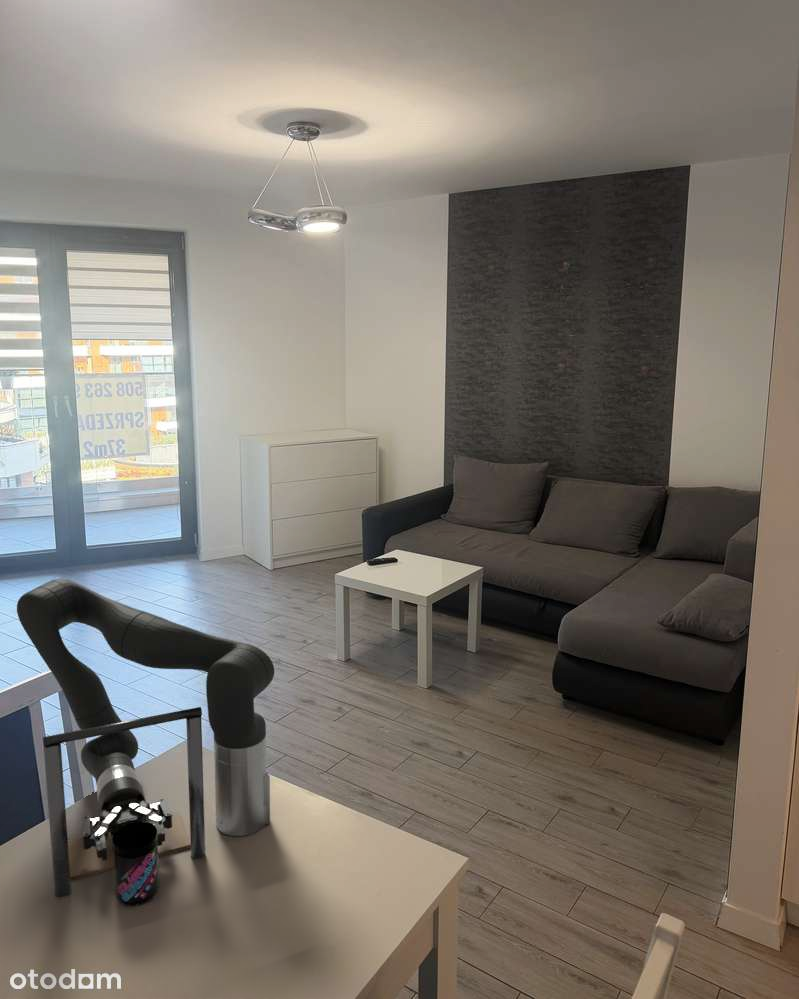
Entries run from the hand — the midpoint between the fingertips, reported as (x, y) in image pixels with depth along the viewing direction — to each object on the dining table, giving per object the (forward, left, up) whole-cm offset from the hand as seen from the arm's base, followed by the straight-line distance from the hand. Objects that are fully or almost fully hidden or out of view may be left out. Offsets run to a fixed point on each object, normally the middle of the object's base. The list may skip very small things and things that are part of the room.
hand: (132, 847), depth 122 cm
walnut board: (0, -9, -6) cm, 11 cm away
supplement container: (0, +3, -6) cm, 7 cm away
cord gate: (0, -2, -6) cm, 6 cm away
